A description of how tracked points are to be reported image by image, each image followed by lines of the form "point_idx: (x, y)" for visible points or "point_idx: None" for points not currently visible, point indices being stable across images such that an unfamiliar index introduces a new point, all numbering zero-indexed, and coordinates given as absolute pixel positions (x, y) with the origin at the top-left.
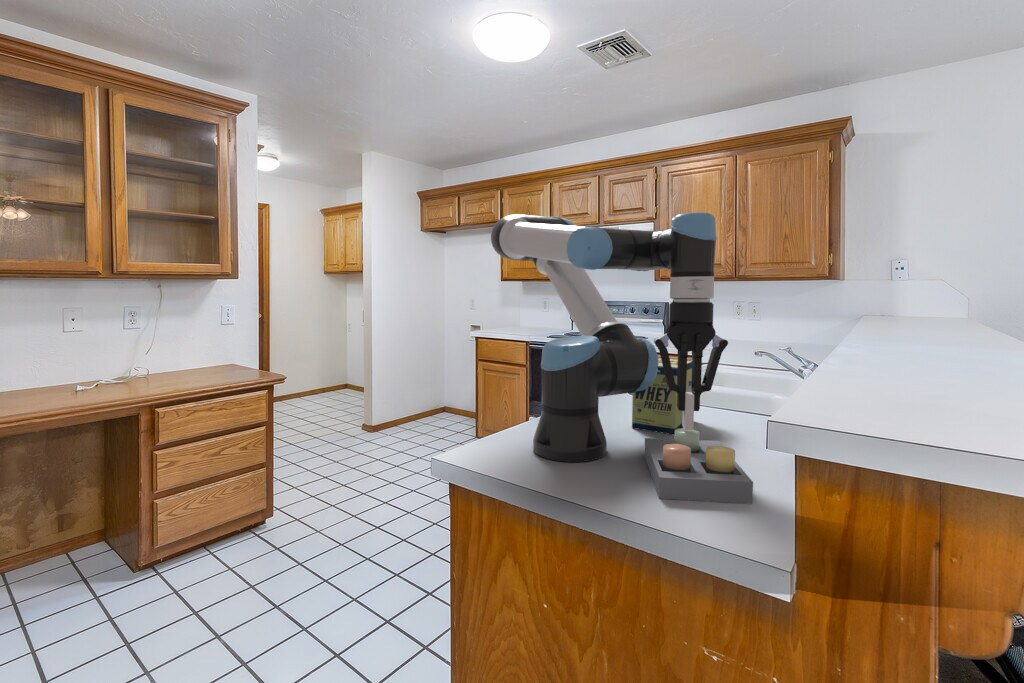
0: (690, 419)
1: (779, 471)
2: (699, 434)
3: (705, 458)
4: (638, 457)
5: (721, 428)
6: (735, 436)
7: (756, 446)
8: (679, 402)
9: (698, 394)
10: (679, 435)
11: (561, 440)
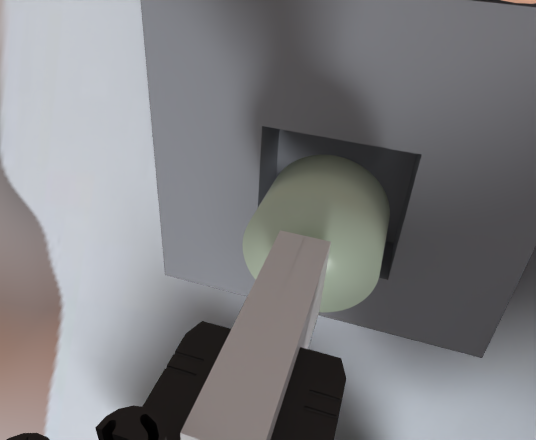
0: (279, 278)
1: (19, 97)
2: (248, 225)
3: (280, 49)
4: None
5: None
6: (107, 379)
7: (63, 305)
8: (328, 418)
9: (139, 415)
10: (370, 224)
11: None
